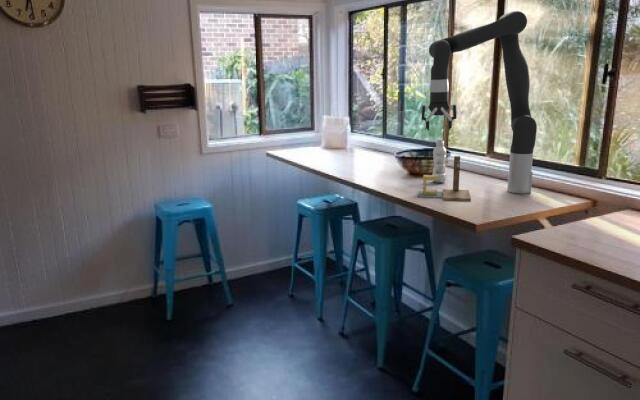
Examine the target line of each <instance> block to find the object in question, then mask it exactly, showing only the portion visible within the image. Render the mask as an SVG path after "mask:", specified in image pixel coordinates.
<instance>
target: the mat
mask: <svg viewBox="0 0 640 400" xmlns="http://www.w3.org/2000/svg"><path fill="white" fill-rule="evenodd" d="M417 198H424V199H425V198H427V199H429V198H430V199H443V191H437V195H423V190H418V191H417Z"/></svg>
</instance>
